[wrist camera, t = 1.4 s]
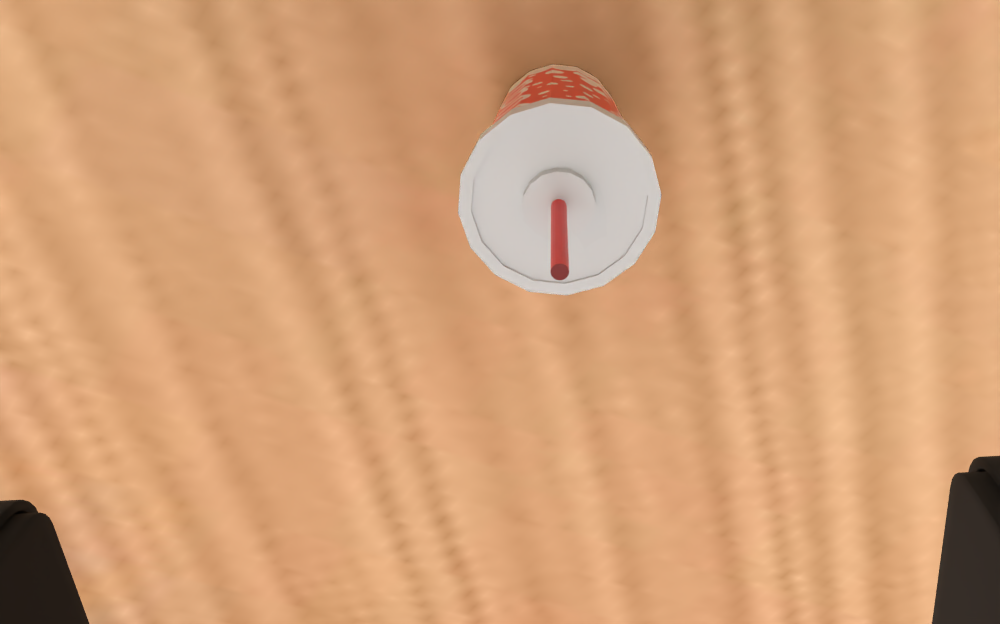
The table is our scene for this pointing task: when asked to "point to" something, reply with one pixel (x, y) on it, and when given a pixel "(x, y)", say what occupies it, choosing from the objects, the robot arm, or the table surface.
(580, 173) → the beverage cup
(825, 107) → the table surface
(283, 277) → the table surface
